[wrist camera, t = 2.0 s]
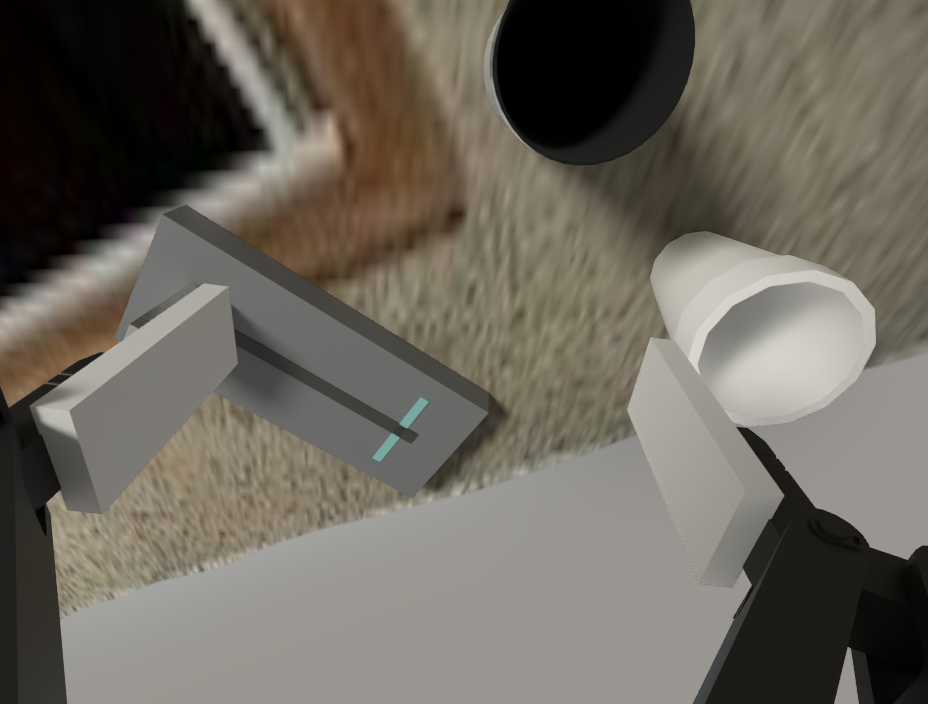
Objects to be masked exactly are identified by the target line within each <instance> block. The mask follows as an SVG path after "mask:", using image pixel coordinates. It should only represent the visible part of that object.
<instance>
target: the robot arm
mask: <svg viewBox="0 0 928 704" xmlns="http://www.w3.org/2000/svg"><path fill="white" fill-rule="evenodd" d="M237 364H238V360H237V351H236V343H235V335H234V327H233V319H232V310H231V302H230V294H229V286H221V285H212V284H202V285H201V286H199V287H198V288H197V289H195V290H194V291H192V292H191V293H189V294H188V295H187V296H185V297H184V298H182V299H181V300H180V301H178V302H177V303H175V304H174V305H172V306H171V307H170V308H168V309H167V310H165V311H164V312H162V313H161V314H160V315H158V316H157V317H155V318H154V319H152V320H151V321H150V322H148V323H147V324H145V325H144V326H142V327H141V328H140V329H138V330H137V331H135V332H134V333H133V334H131V335H130V336H128V337H127V338H125V339H124V340H123V341H121V342H120V343H118V344H117V345H115V346H114V347H113V348H111V349H110V350H108V351H107V352H105V353H103V352H100V353H97V354H95V355H92V356H90V357H87V358H84V359H82V360H79V361H77V362H76V363H74V364H73V365H71V366H70V367H68V368H67V369H65V370H64V371H63V372H61V375H57V376H55V377H54V378H52V379H51V380H49V381H48V383H47V384H43V385H42V386H40V387H39V388H37V389H36V390H34V391H33V392H31V393H30V394H29V395H27V396H26V397H24V398H23V399H21V400H20V401H18V402H17V403H15V404H14V405H12V406H11V407H9V408H8V405H7V403H6V400H5V398H4V395H3V393H2V390H1V388H0V704H67V699H66V698H67V697H66V686H65V674H64V663H63V652H62V640H61V629H60V617H59V606H58V594H57V583H56V572H55V560H54V549H53V537H52V526H51V515H50V512H49V510H48V507H47V505H46V502H48V501H49V500H50V499H51V498H52V497H53V496H54V495H55V494H56V493H57V492H58V491H59V490H60V491H61V494H62V497H63V499H64V502H65V505H66V507H67V510H71V511H80V512H88V513H97V514H103V513H104V512H105V511H106V510H107V509H108V508H109V507H110V505H111V504H112V503H113V502H114V501H115V500H116V499H117V498H118V497H119V495H120V494H121V493H122V492H123V491H124V490H125V489H126V488H127V487H128V485H129V484H130V483H131V482H132V481H133V480H134V479H135V478H136V477H137V475H138V474H139V473H140V472H141V471H142V470H143V469H144V468H145V466H146V465H147V464H148V463H149V462H150V461H151V460H152V459H153V458H154V456H155V455H156V454H157V453H158V452H159V451H160V450H161V449H162V448H163V446H164V445H165V444H166V443H167V442H168V441H169V440H170V439H171V438H172V436H173V435H174V434H175V433H176V432H177V431H178V430H179V429H180V428H181V426H182V425H183V424H184V423H185V422H186V421H187V420H188V419H189V418H190V416H191V415H192V414H193V413H194V412H195V411H196V410H197V409H198V408H199V406H200V405H201V404H202V403H203V402H204V401H205V400H206V399H207V398H208V396H209V395H210V394H211V393H212V392H213V391H214V390H215V389H216V388H217V386H218V385H219V384H220V383H221V382H222V381H223V380H224V379H225V378H226V376H227V375H228V374H229V373H230V372H231V371H232V370H233V369H234V368H235V366H236V365H237ZM627 411H628V413H629V416H630V418H631V421H632V423H633V426H634V428H635V430H636V433H637V435H638V438H639V440H640V442H641V445H642V447H643V450H644V452H645V455H646V457H647V460H648V462H649V464H650V467H651V469H652V472H653V474H654V476H655V479H656V481H657V484H658V487H659V489H660V491H661V494H662V496H663V499H664V501H665V504H666V506H667V508H668V511H669V513H670V516H671V518H672V521H673V523H674V526H675V528H676V530H677V533H678V535H679V538H680V540H681V543H682V545H683V547H684V550H685V552H686V554H687V557H688V560H689V562H690V564H691V567H692V569H693V572H694V574H695V577H696V579H697V581H698V584H706V585H714V586H722V587H731V588H733V586H734V585H735V583H736V581H737V579H738V577H739V576H740V574H741V572H742V570H743V569H744V571H745V573H746V575H747V577H748V579H749V581H750V582H751V584H752V586H751V588H750V589H749V591H748V593H747V595H746V596H745V598H744V600H743V601H742V603H741V605H740V606H739V608H738V610H737V612H736V613H735V615H734V617H733V618H734V621H733V623H732V625H731V627H730V629H729V631H728V633H727V635H726V637H725V639H724V641H723V643H722V645H721V648H720V650H719V651H718V653H717V656H716V658H715V660H714V662H713V664H712V666H711V668H710V670H709V672H708V674H707V676H706V678H705V680H704V682H703V684H702V686H701V688H700V690H699V692H698V695H697V696H696V698H695V700H694V702H693V704H834V701H835V697H836V693H837V689H838V685H839V680H840V676H841V672H842V668H843V664H844V660H845V656H846V651H847V647H849V648H851V651H852V658H853V665H854V672H855V679H856V686H857V693H858V700H859V704H928V546H921V547H920V548H918V549H916V550H915V552H914V553H913V554H912V555H911V557H910V558H909V559H908V560H906V559H903V558H900V557H897V556H894V555H891V554H888V553H885V552H882V551H879V550H876V549H873V548H870V547H869V544H868V542H867V541H866V539H865V538H864V536H863V535H862V534H861V533H860V532H859V531H858V530H857V529H855V527H853V526H852V525H851V524H850V523H848V522H846V521H845V520H843V519H842V518H840V517H838V516H837V515H834V514H832V513H830V512H827V511H824V510H821V509H817V508H815V507H814V505H813V504H812V503H811V501H810V500H809V499H808V497H807V496H806V495H805V493H804V492H803V491H802V489H801V488H800V487H799V485H798V484H797V483H796V481H795V480H794V479H793V477H792V476H791V475H790V474H789V472H788V471H785V467H784V466H783V464H782V463H781V462H780V460H779V459H776V455H775V454H774V452H773V451H772V450H771V448H770V447H769V446H768V444H767V443H766V442H765V441H764V440H763V439H761V438H760V437H759V436H757V435H756V434H755V433H754V432H752V431H751V430H749V429H748V428H741V427H736V426H735V425H734V423H733V422H732V421H731V419H730V418H729V416H728V415H727V413H726V412H725V411H724V409H723V408H722V406H721V405H720V403H719V402H718V401H717V399H716V398H715V396H714V395H713V394H712V392H711V391H710V389H709V388H708V386H707V385H706V384H705V382H704V381H703V379H702V378H701V377H700V375H699V374H698V372H697V371H696V369H695V368H694V367H693V365H692V364H691V362H690V361H689V360H688V358H687V357H686V355H685V354H684V352H683V351H682V350H681V348H680V347H679V345H678V344H677V342H676V341H675V340H667V339H659V338H650V341H649V344H648V347H647V350H646V353H645V357H644V360H643V363H642V366H641V369H640V372H639V375H638V378H637V381H636V384H635V388H634V391H633V394H632V397H631V400H630V403H629V406H628V409H627Z"/></svg>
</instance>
